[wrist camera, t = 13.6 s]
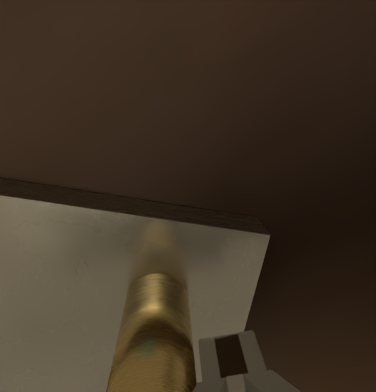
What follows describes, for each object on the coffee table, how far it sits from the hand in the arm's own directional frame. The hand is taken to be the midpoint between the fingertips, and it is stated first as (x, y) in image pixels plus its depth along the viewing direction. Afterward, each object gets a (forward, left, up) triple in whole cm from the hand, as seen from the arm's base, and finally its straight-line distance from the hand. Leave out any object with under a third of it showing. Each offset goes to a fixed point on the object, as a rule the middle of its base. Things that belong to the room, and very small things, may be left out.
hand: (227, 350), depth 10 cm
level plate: (+6, -10, -5) cm, 12 cm away
